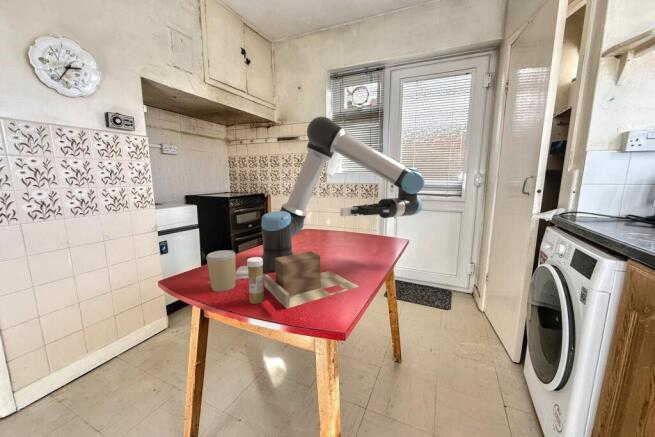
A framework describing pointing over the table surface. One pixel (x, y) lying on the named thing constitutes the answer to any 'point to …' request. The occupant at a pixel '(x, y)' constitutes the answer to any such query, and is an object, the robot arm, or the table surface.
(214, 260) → the coffee cup
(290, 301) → the board
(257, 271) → the sprinkles bottle
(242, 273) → the soap
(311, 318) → the table surface
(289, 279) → the block
